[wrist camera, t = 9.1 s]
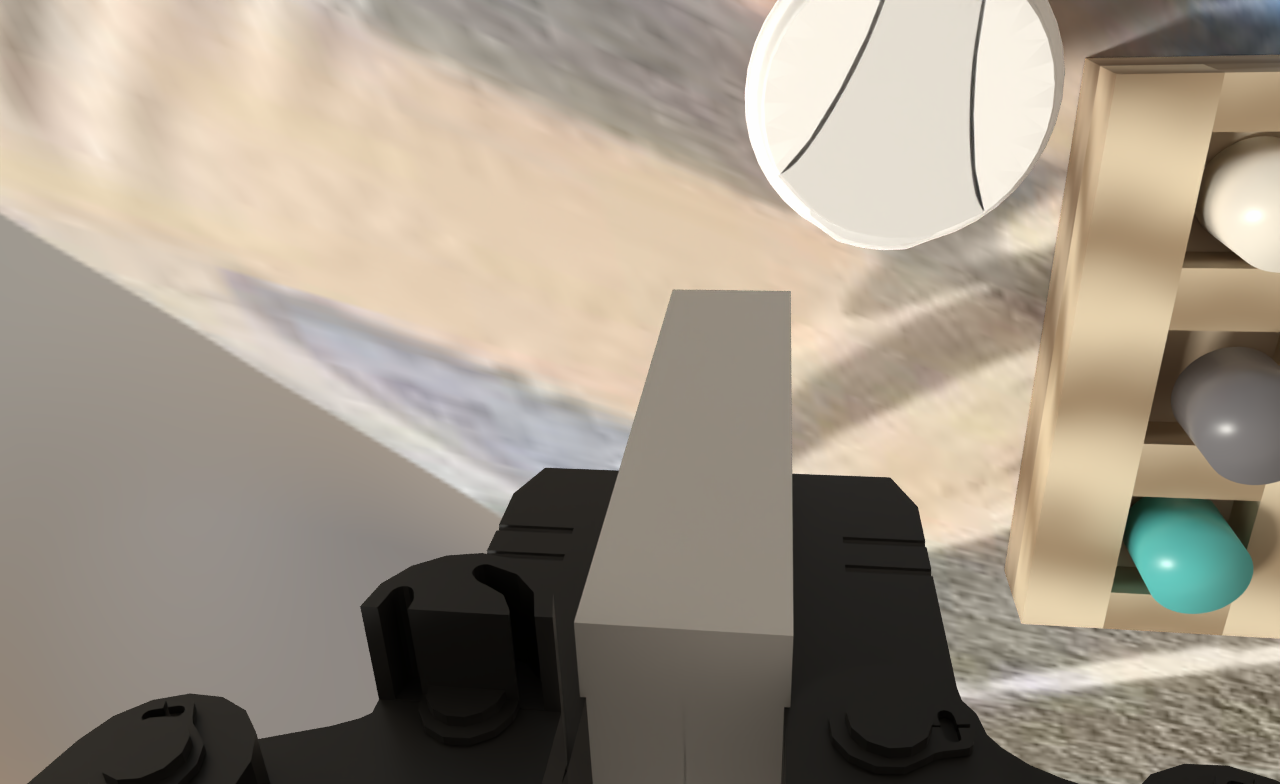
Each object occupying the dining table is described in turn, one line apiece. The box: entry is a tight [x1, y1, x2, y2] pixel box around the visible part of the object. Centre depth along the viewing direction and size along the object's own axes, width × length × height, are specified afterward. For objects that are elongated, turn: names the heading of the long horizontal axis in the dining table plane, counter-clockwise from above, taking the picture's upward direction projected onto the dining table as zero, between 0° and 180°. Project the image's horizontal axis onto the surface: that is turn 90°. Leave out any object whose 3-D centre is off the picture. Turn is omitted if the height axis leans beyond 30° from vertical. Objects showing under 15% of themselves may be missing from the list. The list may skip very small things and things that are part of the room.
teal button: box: [1123, 497, 1253, 614], centre depth 42 cm, size 4×4×4 cm
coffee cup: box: [745, 0, 1065, 250], centre depth 31 cm, size 8×8×15 cm
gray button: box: [1171, 347, 1280, 485], centre depth 36 cm, size 4×4×4 cm
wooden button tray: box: [1004, 55, 1280, 638], centre depth 40 cm, size 24×12×4 cm, turn 2°
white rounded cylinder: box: [1195, 136, 1280, 273], centre depth 35 cm, size 4×4×4 cm
